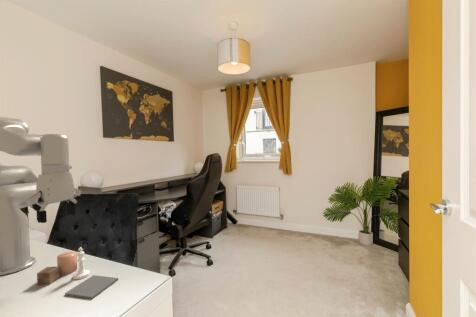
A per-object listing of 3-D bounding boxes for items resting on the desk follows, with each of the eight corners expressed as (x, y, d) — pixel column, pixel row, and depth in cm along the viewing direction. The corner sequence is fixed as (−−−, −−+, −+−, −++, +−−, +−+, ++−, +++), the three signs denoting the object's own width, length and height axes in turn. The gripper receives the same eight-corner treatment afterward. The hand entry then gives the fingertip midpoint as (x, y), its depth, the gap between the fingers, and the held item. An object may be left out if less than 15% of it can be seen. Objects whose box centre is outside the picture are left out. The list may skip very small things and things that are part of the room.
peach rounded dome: (53, 274, 78) (53, 257, 78) (68, 266, 84) (68, 251, 84) (66, 276, 77) (65, 259, 77) (80, 268, 83) (80, 252, 82)
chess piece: (81, 280, 74) (80, 250, 74) (69, 278, 75) (68, 249, 75) (93, 272, 79) (92, 244, 79) (82, 271, 80) (81, 244, 80)
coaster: (64, 295, 66) (64, 293, 66) (93, 276, 76) (93, 275, 76) (92, 299, 64) (92, 297, 64) (118, 279, 74) (118, 278, 74)
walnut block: (37, 285, 72) (36, 273, 72) (47, 278, 76) (47, 267, 76) (50, 284, 72) (49, 272, 72) (59, 277, 76) (59, 266, 76)
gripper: (72, 168, 86) (73, 211, 87) (17, 171, 70) (20, 225, 70) (87, 167, 84) (88, 212, 85) (34, 171, 68) (37, 227, 68)
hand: (57, 218), depth 77 cm, fingers open, 9 cm apart
